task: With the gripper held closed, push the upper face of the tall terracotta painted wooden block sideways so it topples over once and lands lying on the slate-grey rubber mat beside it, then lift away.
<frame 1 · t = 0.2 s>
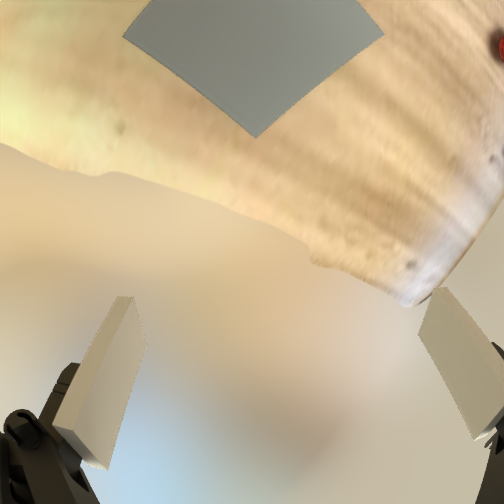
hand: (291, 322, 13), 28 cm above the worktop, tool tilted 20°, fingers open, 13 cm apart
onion: (500, 46, 23), on the worktop
mat: (254, 21, 25), on the worktop
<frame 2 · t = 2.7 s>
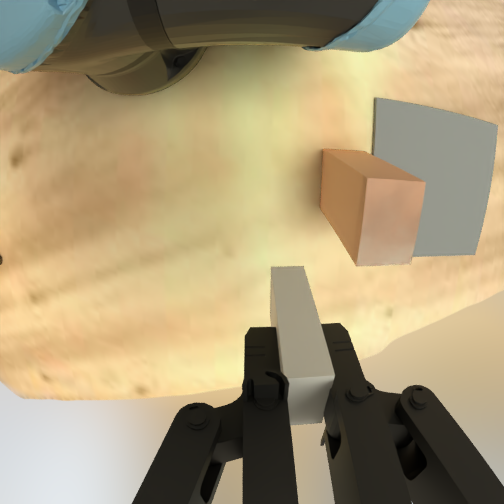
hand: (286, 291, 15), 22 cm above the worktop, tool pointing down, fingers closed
tall block: (342, 179, 34), on the worktop
mat: (436, 185, 34), on the worktop
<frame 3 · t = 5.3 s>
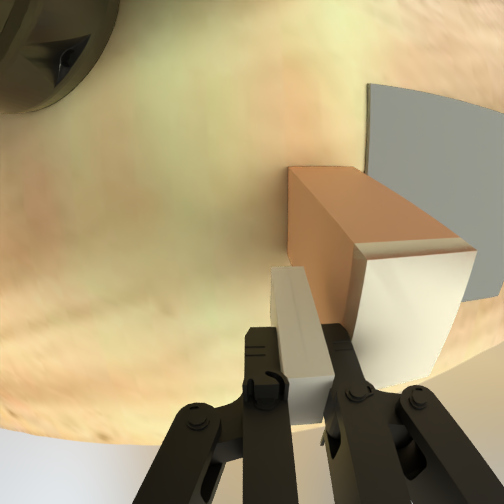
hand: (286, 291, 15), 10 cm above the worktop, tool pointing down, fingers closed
tall block: (319, 211, 23), on the worktop, touching gripper
mat: (457, 211, 23), on the worktop
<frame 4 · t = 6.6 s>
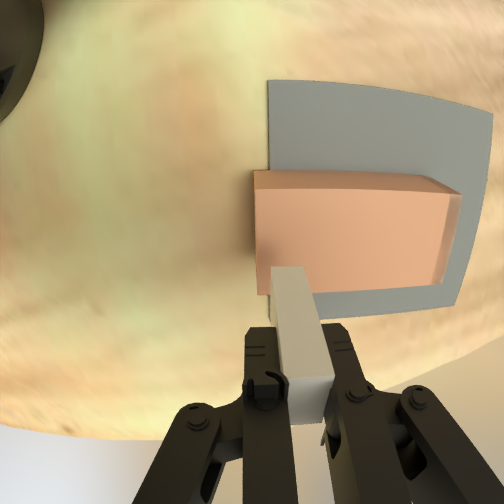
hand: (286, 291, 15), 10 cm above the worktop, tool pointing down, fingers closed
tall block: (255, 230, 21), point 3 cm above the worktop, tilted 90°, touching mat
mat: (390, 213, 23), on the worktop
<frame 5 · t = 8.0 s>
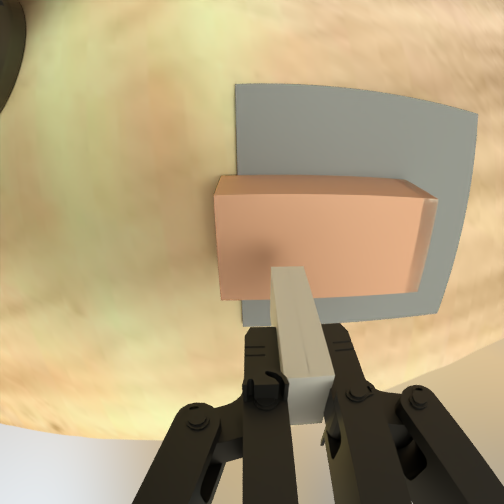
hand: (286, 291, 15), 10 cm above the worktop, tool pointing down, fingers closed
tall block: (220, 235, 21), point 3 cm above the worktop, tilted 90°, touching mat
mat: (365, 218, 23), on the worktop
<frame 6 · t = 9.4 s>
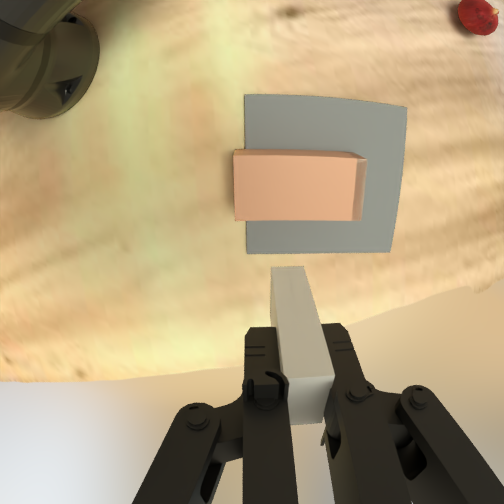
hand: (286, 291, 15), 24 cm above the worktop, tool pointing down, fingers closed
tall block: (235, 183, 34), point 3 cm above the worktop, tilted 90°, touching mat
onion: (462, 19, 25), on the worktop
mat: (327, 177, 37), on the worktop
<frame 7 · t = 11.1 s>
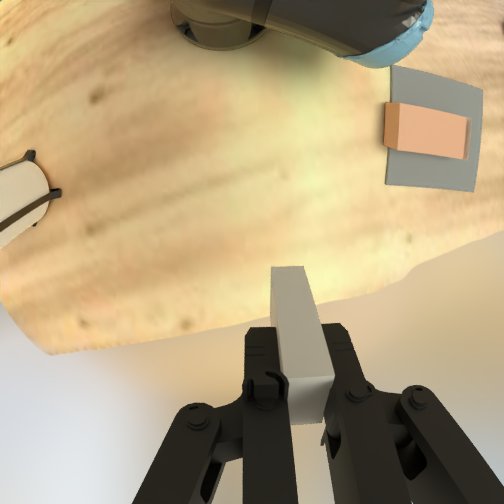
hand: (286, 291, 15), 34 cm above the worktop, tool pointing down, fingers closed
tall block: (391, 125, 40), point 3 cm above the worktop, tilted 90°, touching mat
mat: (439, 132, 42), on the worktop
coffee press: (31, 193, 46), on the worktop
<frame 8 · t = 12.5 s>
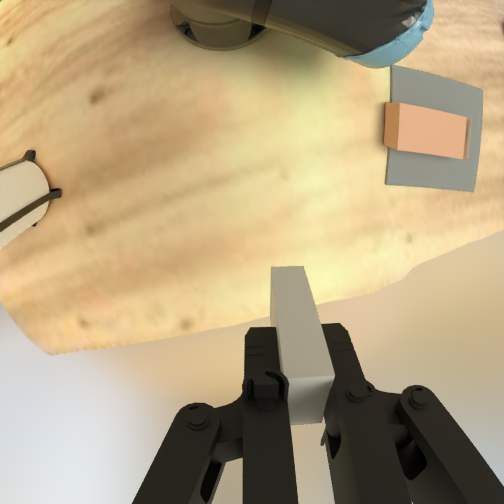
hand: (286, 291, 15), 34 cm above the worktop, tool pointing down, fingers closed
tall block: (391, 125, 40), point 3 cm above the worktop, tilted 90°, touching mat
mat: (439, 132, 42), on the worktop
coffee press: (31, 193, 46), on the worktop
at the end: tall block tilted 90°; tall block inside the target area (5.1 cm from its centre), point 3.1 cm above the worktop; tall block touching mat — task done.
